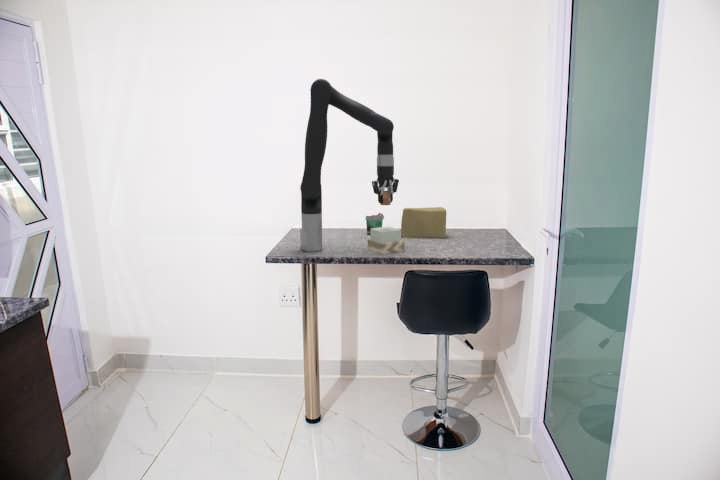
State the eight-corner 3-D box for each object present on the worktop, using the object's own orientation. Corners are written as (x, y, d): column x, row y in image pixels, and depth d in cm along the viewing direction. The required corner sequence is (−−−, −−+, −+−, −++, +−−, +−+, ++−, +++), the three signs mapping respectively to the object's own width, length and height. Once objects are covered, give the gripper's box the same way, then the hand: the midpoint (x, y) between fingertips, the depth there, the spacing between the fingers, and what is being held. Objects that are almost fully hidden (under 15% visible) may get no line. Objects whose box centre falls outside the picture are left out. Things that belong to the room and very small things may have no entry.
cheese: (402, 239, 254) (403, 209, 251) (399, 235, 264) (400, 206, 261) (446, 238, 256) (447, 209, 253) (441, 234, 265) (442, 206, 262)
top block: (382, 243, 226) (382, 232, 225) (370, 239, 234) (370, 228, 233) (400, 240, 230) (400, 230, 229) (388, 236, 239) (388, 226, 238)
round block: (384, 205, 227) (384, 192, 225) (378, 204, 230) (378, 191, 229) (392, 204, 229) (392, 191, 228) (386, 203, 233) (386, 190, 231)
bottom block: (382, 255, 225) (383, 244, 224) (367, 250, 235) (367, 239, 234) (404, 251, 231) (404, 241, 230) (388, 246, 241) (388, 236, 240)
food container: (375, 236, 261) (375, 217, 259) (365, 234, 265) (365, 215, 263) (388, 232, 271) (388, 213, 268) (379, 230, 274) (379, 212, 272)
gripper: (377, 166, 219) (377, 205, 223) (403, 164, 227) (403, 202, 230) (367, 165, 225) (367, 203, 229) (392, 163, 233) (392, 200, 236)
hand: (385, 202), depth 229 cm, fingers closed on round block, 4 cm apart
